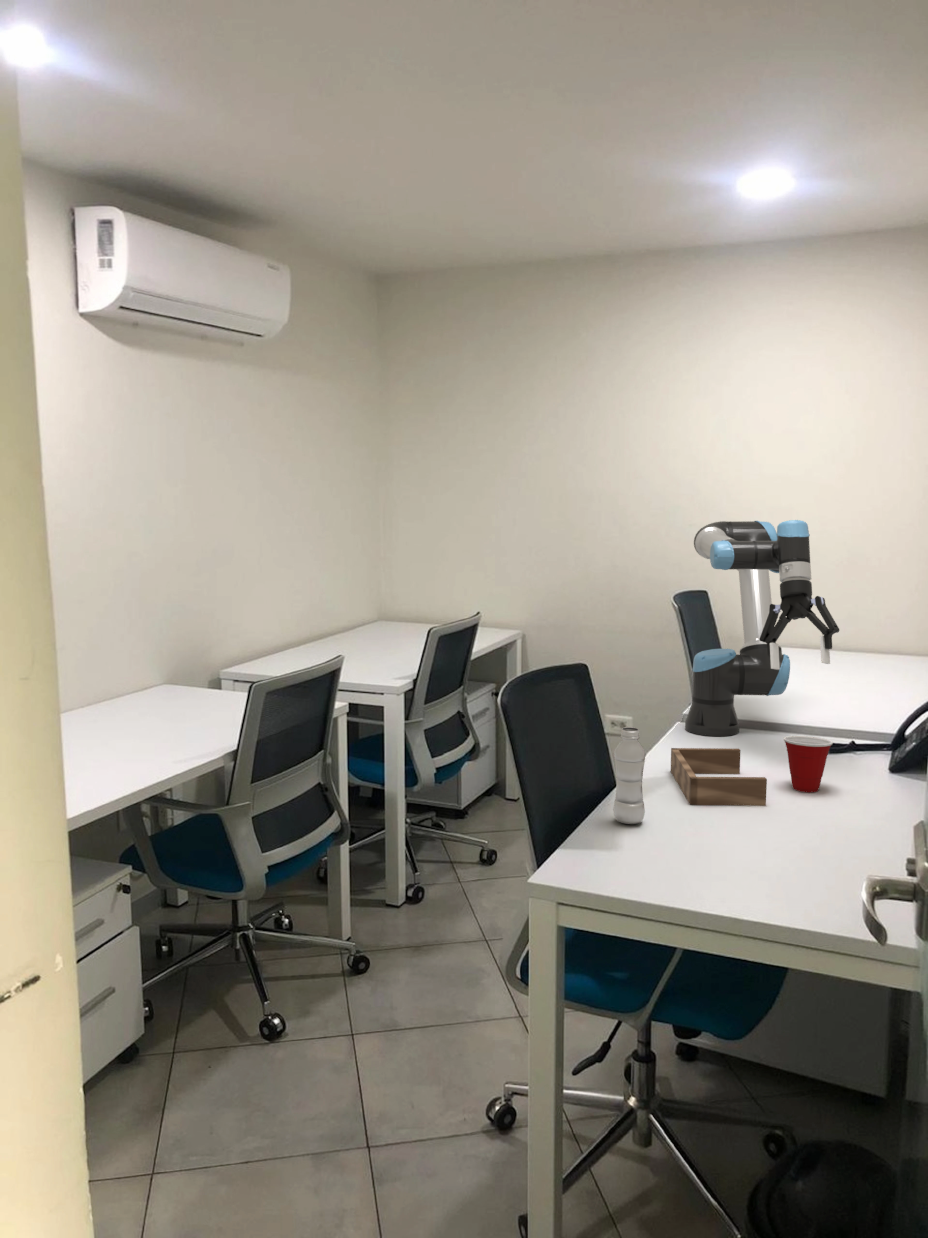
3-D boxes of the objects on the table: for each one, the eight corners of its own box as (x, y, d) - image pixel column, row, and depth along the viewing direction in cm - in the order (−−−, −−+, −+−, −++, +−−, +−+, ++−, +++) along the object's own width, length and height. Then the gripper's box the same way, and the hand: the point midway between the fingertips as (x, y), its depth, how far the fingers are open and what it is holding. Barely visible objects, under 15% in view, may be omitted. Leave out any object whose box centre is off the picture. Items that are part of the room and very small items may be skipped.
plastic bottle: (626, 830, 195) (627, 734, 192) (606, 820, 201) (608, 727, 198) (651, 824, 198) (653, 731, 195) (631, 815, 204) (632, 724, 201)
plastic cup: (832, 785, 224) (834, 735, 222) (828, 798, 214) (831, 746, 212) (783, 779, 228) (785, 730, 226) (778, 792, 218) (780, 741, 217)
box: (670, 771, 235) (671, 748, 234) (738, 772, 234) (738, 748, 233) (690, 805, 210) (690, 778, 209) (765, 805, 209) (766, 779, 208)
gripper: (743, 587, 244) (746, 669, 240) (834, 570, 225) (839, 658, 221) (760, 592, 248) (763, 672, 244) (850, 575, 230) (856, 662, 225)
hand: (799, 666), depth 232 cm, fingers open, 13 cm apart
